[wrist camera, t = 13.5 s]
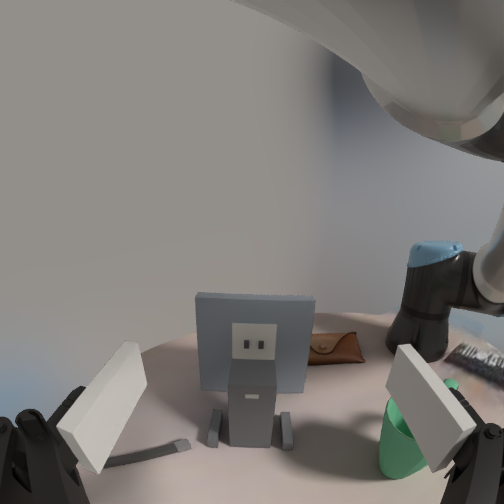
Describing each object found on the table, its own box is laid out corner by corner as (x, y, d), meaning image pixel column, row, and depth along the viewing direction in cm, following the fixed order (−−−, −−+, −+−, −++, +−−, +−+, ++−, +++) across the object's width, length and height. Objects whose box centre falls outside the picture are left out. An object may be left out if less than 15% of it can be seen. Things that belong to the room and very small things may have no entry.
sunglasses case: (276, 368, 45) (276, 332, 48) (272, 366, 52) (272, 334, 54) (368, 362, 46) (368, 328, 48) (354, 361, 52) (354, 331, 55)
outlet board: (301, 385, 41) (312, 295, 38) (314, 448, 27) (339, 346, 24) (203, 382, 41) (198, 292, 38) (186, 444, 27) (168, 340, 24)
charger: (269, 417, 33) (274, 355, 31) (270, 448, 27) (277, 386, 25) (233, 415, 33) (232, 354, 31) (229, 447, 27) (227, 385, 25)
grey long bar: (187, 442, 28) (186, 438, 27) (191, 448, 27) (190, 444, 26) (98, 462, 21) (96, 458, 21) (100, 469, 20) (98, 465, 20)
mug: (403, 507, 15) (446, 458, 13) (344, 468, 23) (368, 415, 21) (455, 437, 23) (485, 383, 21) (406, 412, 31) (427, 359, 29)
